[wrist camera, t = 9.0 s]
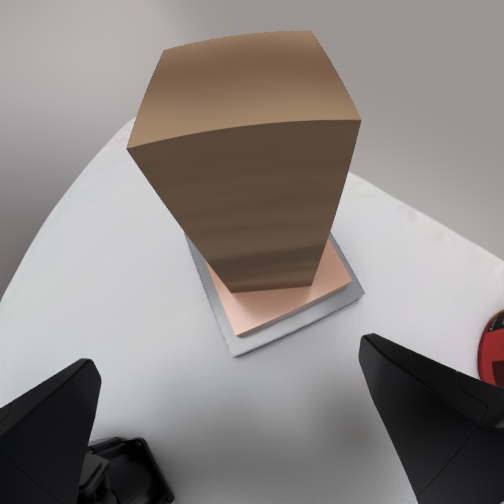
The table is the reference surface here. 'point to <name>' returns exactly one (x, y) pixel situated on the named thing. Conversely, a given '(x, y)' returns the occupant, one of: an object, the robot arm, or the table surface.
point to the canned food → (492, 352)
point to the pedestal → (278, 301)
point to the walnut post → (249, 152)
